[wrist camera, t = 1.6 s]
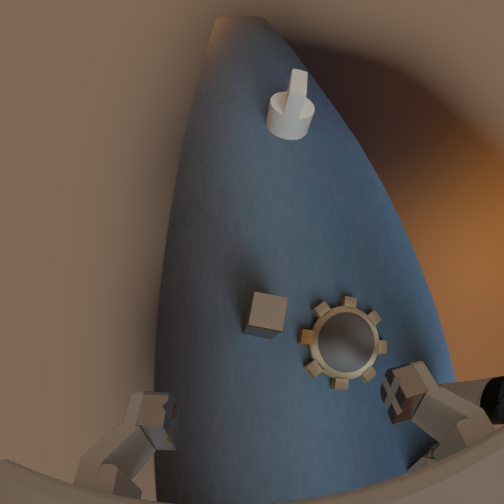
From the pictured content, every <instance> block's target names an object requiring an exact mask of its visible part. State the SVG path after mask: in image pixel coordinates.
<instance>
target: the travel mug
mask: <svg viewBox="0 0 504 504" xmlns="http://www.w3.org/2000/svg"><path fill="white" fill-rule="evenodd" d="M437 385H438V386H439V388H441V387H443V388H445V389H447V390H449V391H450V392H452V393H454V394H456V395H458V396H460V397H462V398H463V399H465V400H467V401H469V402H471V403H473V404H475V405H477V406H478V407H480V408H482V409H483V410H484V411H485V413H486V415H487V416H488V418H489V420H490V421H491V423H492V424H504V376H501V377H493V378H486V379H480V380H472V381H465V382H456V383H447V384H437Z"/></svg>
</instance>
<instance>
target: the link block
mask: <svg viewBox="0 0 504 504" xmlns="http://www.w3.org/2000/svg"><path fill="white" fill-rule="evenodd" d="M287 300H288V298H285V297H280V296H275V295H270V294H265V293H260V292H255V291H254V293H253V297H252V299H251V302H250V304H249V306H248V311H247V316H246V321H245V326H244V331H243V334H246V335H251V336H257V337H262V338H267V339H272V338H273V337H274V336H276V335H277V334H278V333H280V332H282V331H283V326H284V320H285V313H286V307H287Z"/></svg>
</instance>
